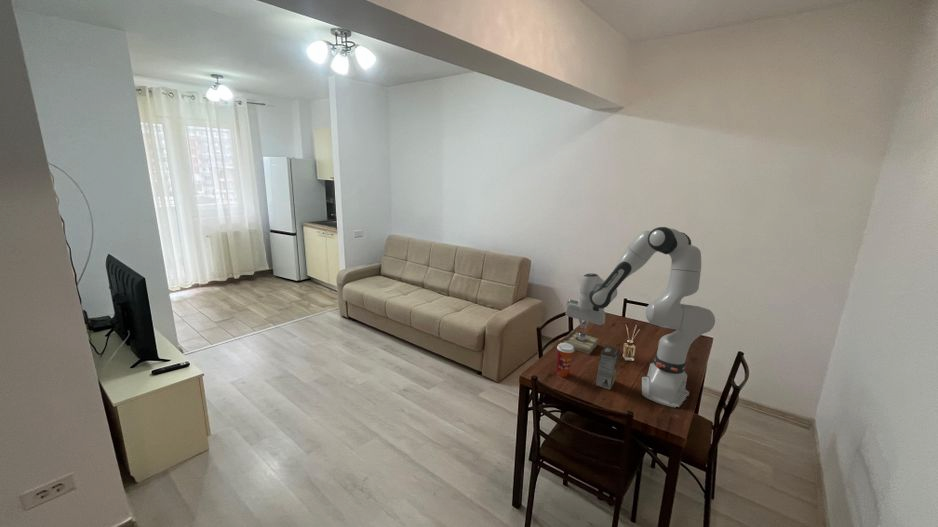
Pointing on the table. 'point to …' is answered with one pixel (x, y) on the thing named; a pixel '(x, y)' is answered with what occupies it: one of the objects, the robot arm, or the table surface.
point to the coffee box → (607, 367)
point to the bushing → (581, 336)
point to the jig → (581, 346)
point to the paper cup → (564, 359)
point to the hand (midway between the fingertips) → (583, 327)
